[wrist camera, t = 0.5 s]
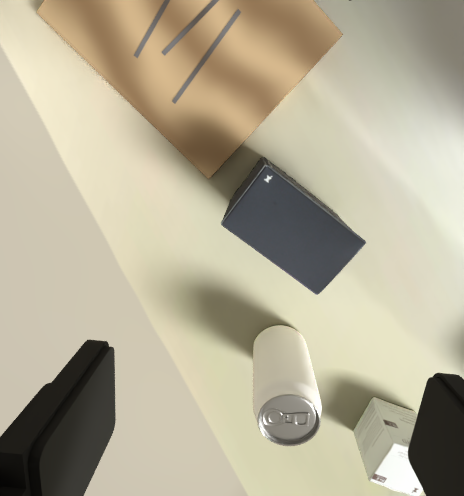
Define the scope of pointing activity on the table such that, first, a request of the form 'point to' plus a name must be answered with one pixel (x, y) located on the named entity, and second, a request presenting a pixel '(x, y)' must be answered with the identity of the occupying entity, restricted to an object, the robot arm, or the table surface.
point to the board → (198, 61)
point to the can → (284, 387)
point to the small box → (290, 227)
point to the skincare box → (387, 445)
